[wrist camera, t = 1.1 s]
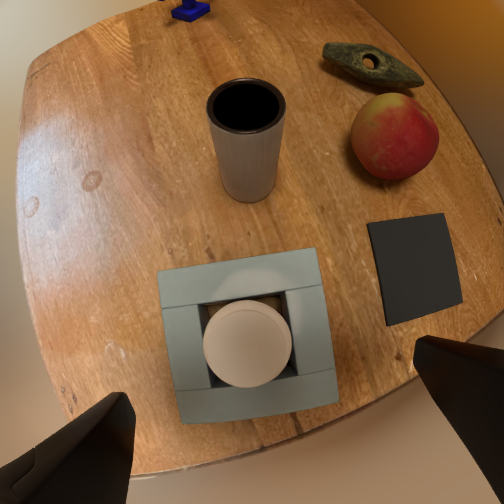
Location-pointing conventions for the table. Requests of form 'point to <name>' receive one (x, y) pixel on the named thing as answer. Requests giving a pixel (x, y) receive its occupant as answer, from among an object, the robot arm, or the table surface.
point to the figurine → (190, 10)
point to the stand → (236, 289)
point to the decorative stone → (385, 65)
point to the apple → (394, 136)
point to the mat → (415, 266)
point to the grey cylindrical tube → (247, 135)
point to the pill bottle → (247, 343)
